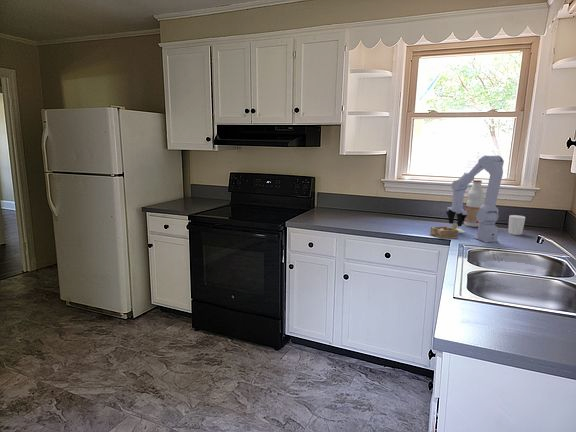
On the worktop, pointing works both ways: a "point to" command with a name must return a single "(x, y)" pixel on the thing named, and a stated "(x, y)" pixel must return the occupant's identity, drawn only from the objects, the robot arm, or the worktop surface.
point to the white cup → (516, 224)
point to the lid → (457, 228)
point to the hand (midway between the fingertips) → (455, 224)
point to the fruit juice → (474, 203)
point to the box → (444, 232)
